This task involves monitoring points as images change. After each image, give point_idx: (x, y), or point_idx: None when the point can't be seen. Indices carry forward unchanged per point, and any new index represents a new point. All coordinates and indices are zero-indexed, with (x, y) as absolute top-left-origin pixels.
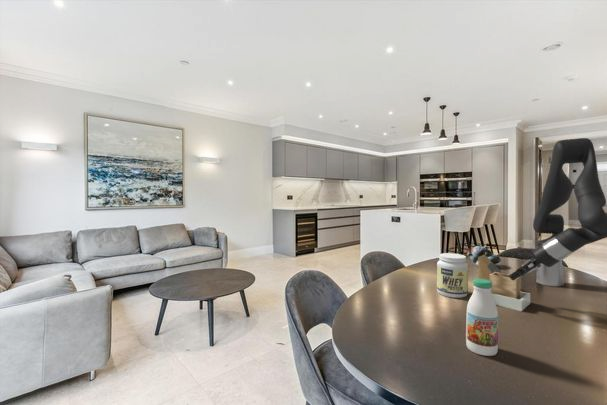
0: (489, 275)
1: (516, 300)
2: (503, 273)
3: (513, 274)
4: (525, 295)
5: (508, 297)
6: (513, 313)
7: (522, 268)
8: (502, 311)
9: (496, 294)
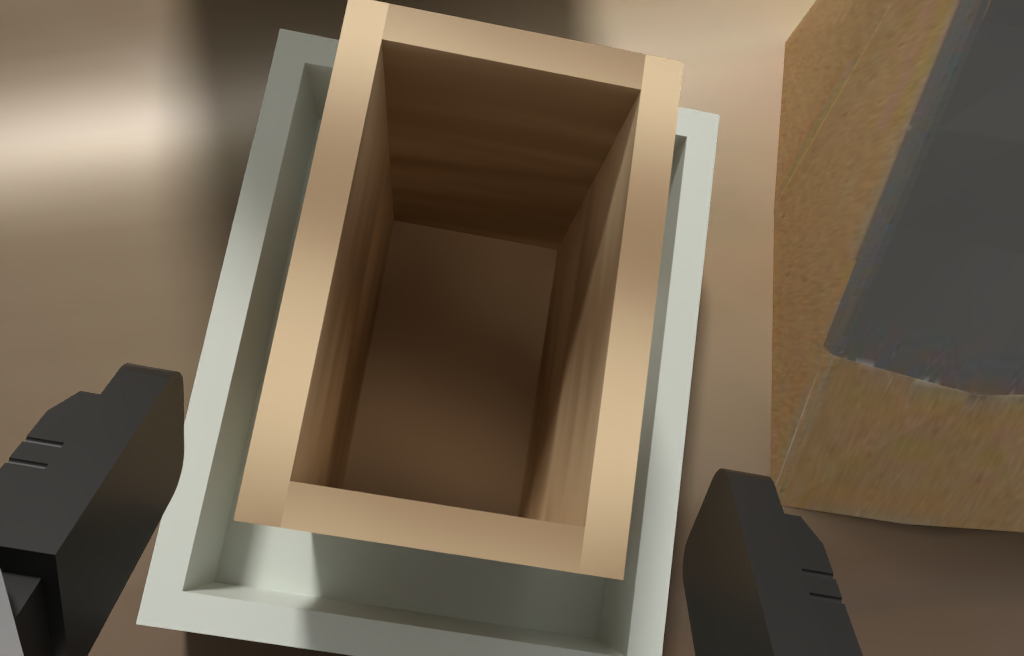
0: (905, 40)
1: (162, 545)
2: (658, 226)
3: (2, 470)
4: (484, 643)
5: (193, 429)
6: None
7: (756, 636)
8: (28, 399)
9: (248, 261)
